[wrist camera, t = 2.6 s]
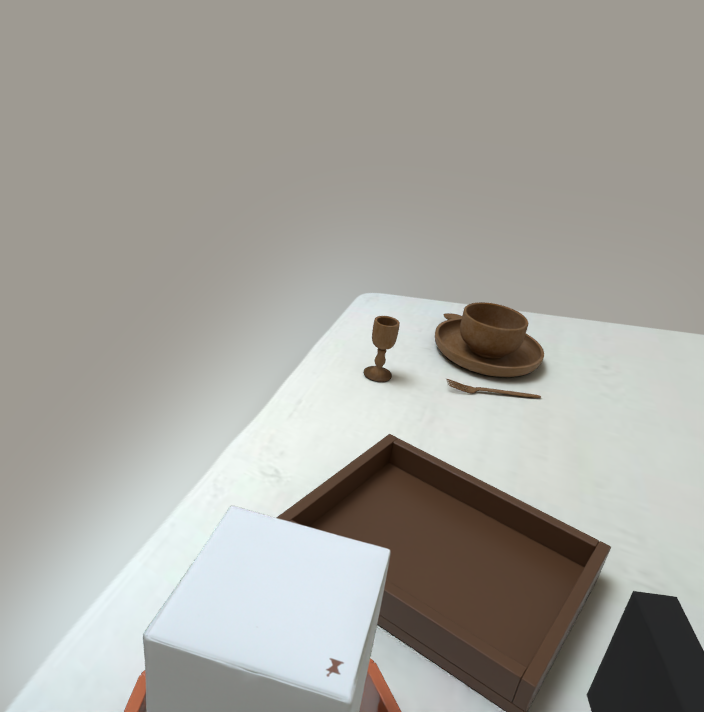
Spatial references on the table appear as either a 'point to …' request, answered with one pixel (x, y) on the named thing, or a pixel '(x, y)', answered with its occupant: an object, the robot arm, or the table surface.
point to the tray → (462, 566)
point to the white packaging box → (267, 621)
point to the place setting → (471, 344)
